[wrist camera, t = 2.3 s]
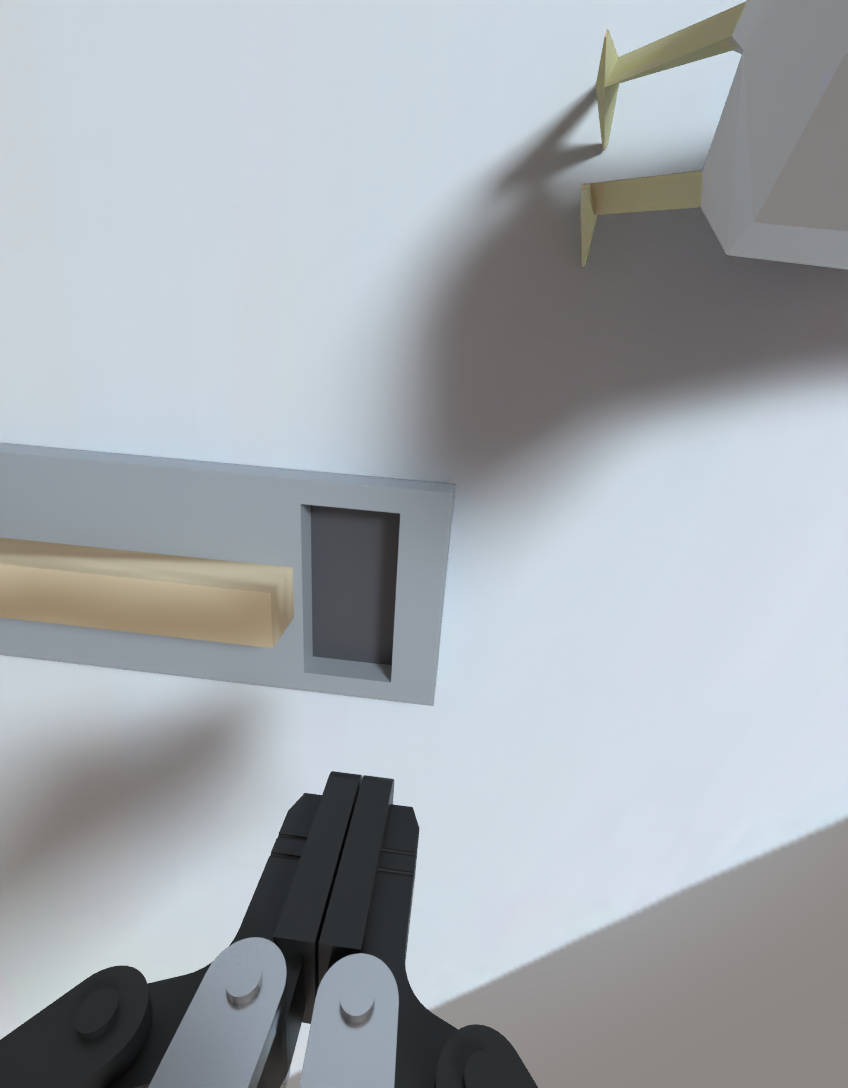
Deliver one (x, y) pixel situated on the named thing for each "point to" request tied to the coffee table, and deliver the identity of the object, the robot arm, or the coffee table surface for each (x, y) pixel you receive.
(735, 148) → the grey crescent shape
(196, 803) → the coffee table surface
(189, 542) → the grey pocketed tray
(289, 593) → the beech dowel
